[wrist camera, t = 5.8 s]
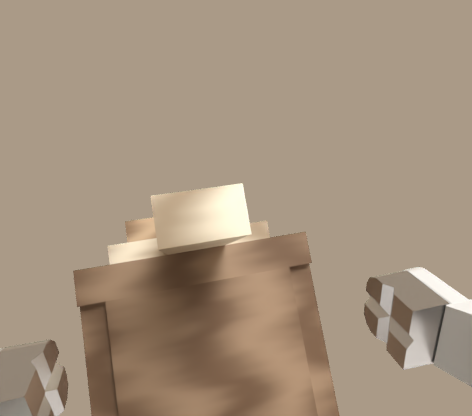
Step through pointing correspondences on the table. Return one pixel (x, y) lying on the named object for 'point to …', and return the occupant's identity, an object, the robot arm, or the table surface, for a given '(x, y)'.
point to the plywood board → (189, 224)
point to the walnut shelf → (207, 333)
